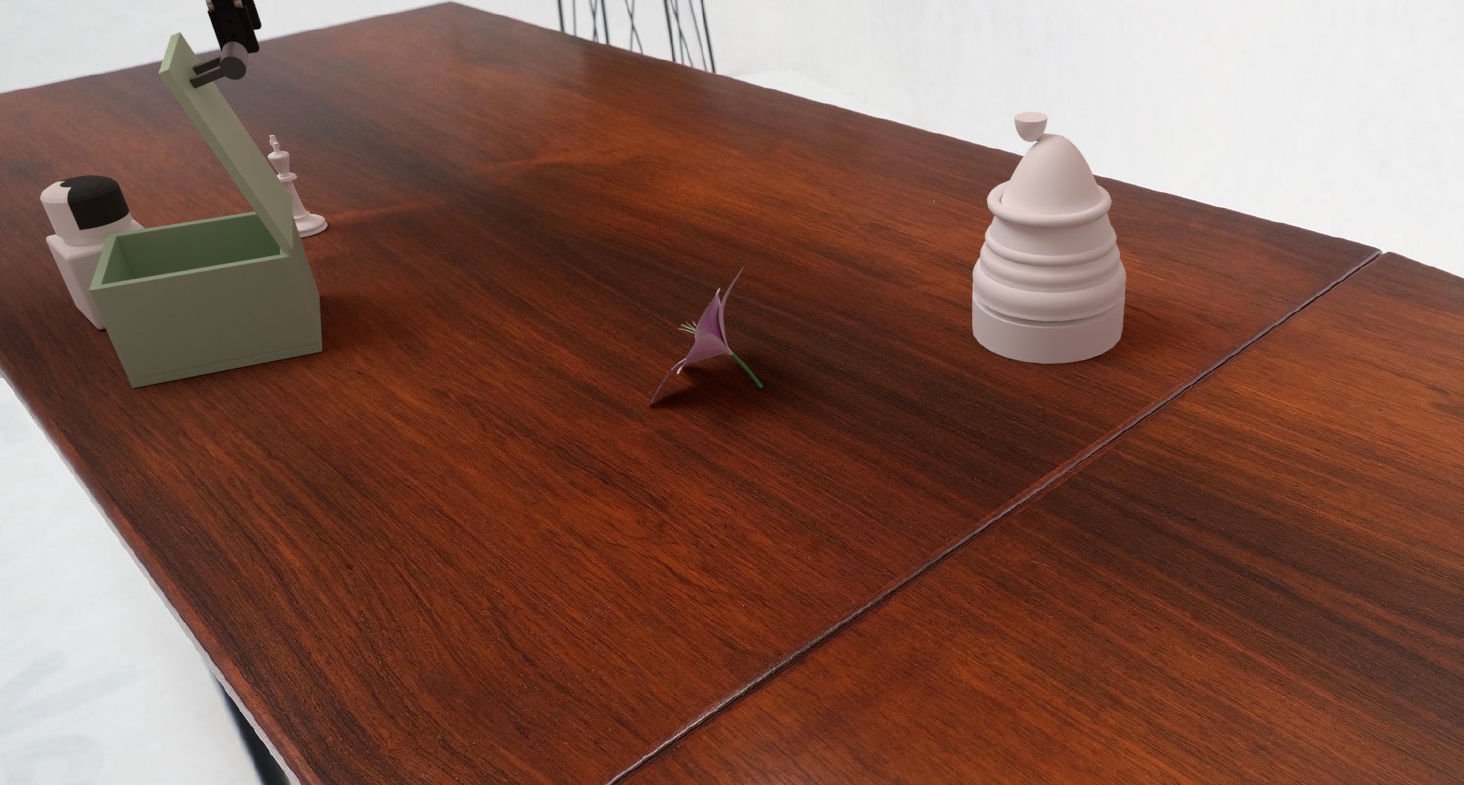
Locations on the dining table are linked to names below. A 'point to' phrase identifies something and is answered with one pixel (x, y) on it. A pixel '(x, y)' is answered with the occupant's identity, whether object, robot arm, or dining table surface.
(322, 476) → the dining table surface
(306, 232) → the chess piece
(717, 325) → the lily
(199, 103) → the box lid
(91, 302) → the medicine bottle
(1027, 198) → the honey pot
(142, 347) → the green box
